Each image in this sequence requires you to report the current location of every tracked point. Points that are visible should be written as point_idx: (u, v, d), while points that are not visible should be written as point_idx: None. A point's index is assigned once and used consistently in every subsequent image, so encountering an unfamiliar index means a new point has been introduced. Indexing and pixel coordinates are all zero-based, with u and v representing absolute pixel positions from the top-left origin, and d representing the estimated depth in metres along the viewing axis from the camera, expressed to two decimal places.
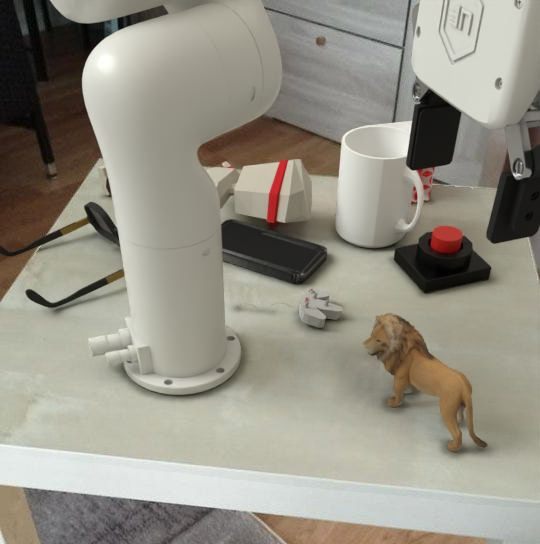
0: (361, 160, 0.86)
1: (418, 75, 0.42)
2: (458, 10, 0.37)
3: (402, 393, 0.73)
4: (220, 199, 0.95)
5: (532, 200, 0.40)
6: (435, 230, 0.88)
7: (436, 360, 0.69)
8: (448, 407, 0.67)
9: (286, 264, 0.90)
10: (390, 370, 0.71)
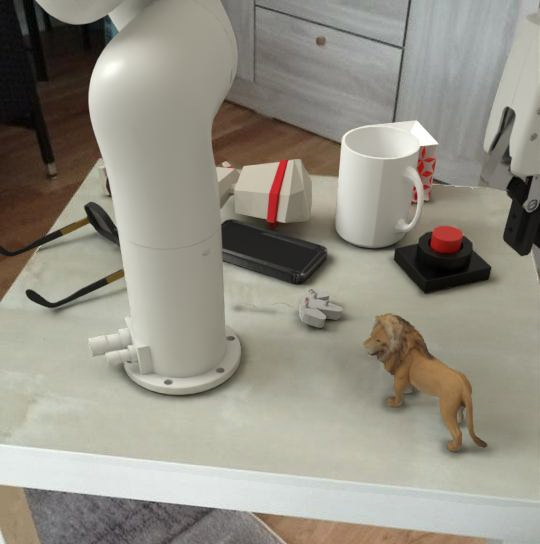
0: (361, 160, 0.86)
1: None
2: None
3: (402, 393, 0.73)
4: (220, 199, 0.95)
5: (513, 219, 0.60)
6: (435, 230, 0.88)
7: (436, 360, 0.69)
8: (448, 407, 0.67)
9: (286, 264, 0.90)
10: (390, 370, 0.71)
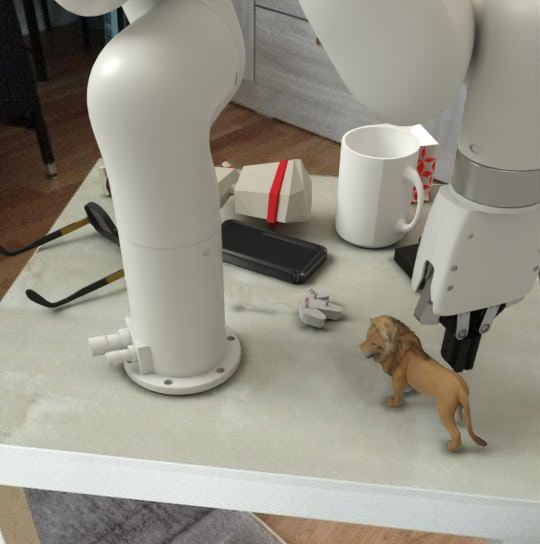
0: (361, 160, 0.86)
1: None
2: None
3: (401, 393, 0.72)
4: (220, 199, 0.95)
5: (447, 342, 0.68)
6: None
7: (432, 361, 0.69)
8: (445, 408, 0.67)
9: (286, 264, 0.90)
10: (388, 372, 0.71)
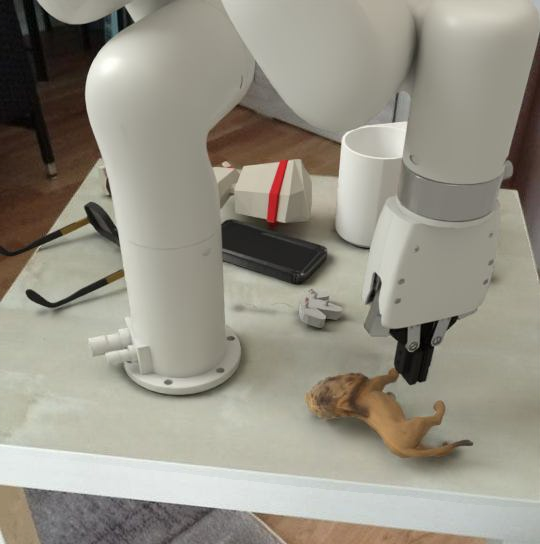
0: (361, 160, 0.86)
1: None
2: None
3: None
4: (220, 199, 0.95)
5: (399, 354, 0.67)
6: None
7: (372, 415, 0.67)
8: None
9: (286, 264, 0.90)
10: None
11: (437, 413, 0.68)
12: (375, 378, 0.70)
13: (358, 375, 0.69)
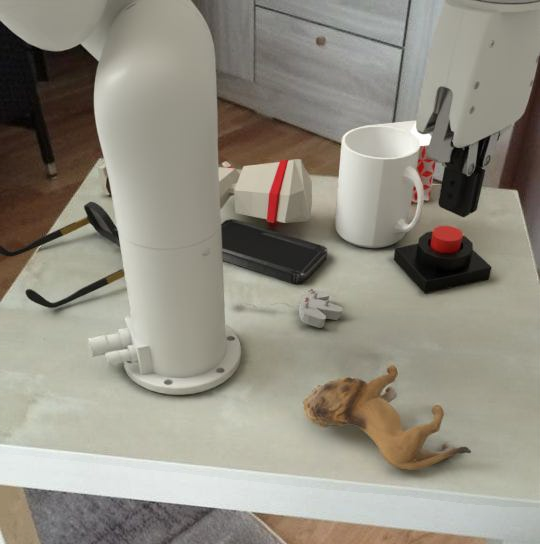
0: (361, 160, 0.86)
1: None
2: None
3: None
4: (220, 199, 0.95)
5: (451, 185, 0.65)
6: (435, 230, 0.88)
7: (368, 427, 0.67)
8: None
9: (286, 264, 0.90)
10: None
11: (435, 420, 0.67)
12: (372, 383, 0.69)
13: (354, 382, 0.68)
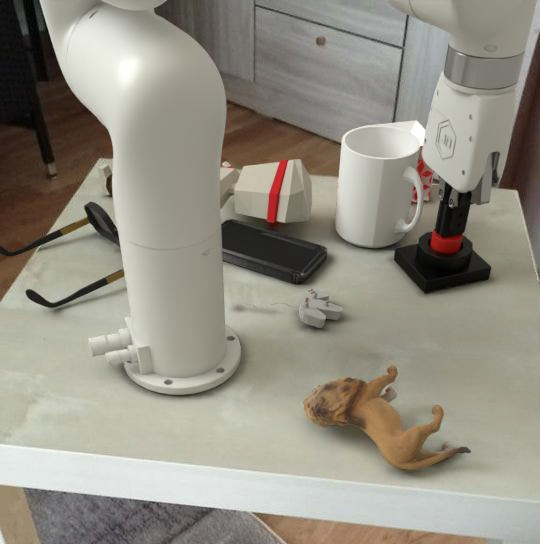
0: (361, 160, 0.86)
1: (425, 161, 0.84)
2: (444, 136, 0.79)
3: None
4: (220, 199, 0.95)
5: (459, 217, 0.85)
6: None
7: (368, 427, 0.67)
8: None
9: (286, 264, 0.90)
10: None
11: (435, 420, 0.67)
12: (372, 383, 0.69)
13: (354, 382, 0.68)
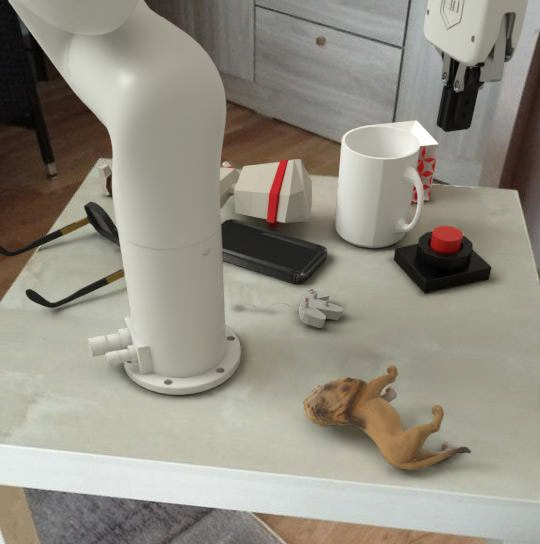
0: (361, 160, 0.86)
1: (427, 38, 0.72)
2: None
3: None
4: (220, 199, 0.95)
5: (465, 105, 0.74)
6: (435, 230, 0.88)
7: (368, 427, 0.67)
8: None
9: (286, 264, 0.90)
10: None
11: (435, 420, 0.67)
12: (372, 383, 0.69)
13: (354, 382, 0.68)
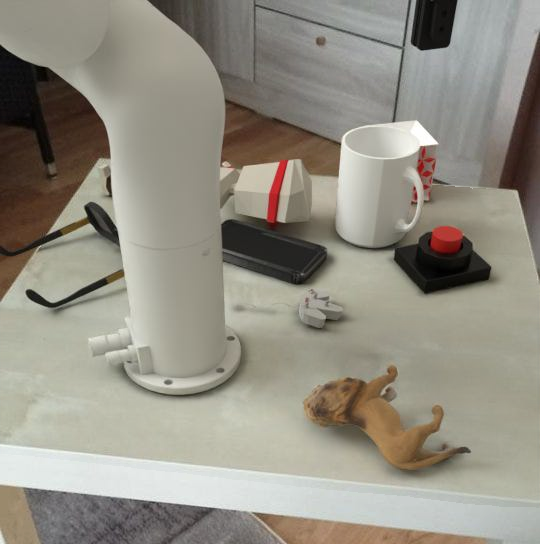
0: (361, 160, 0.86)
1: None
2: None
3: None
4: (220, 199, 0.95)
5: (442, 17, 0.64)
6: (435, 230, 0.88)
7: (368, 427, 0.67)
8: None
9: (286, 264, 0.90)
10: None
11: (435, 420, 0.67)
12: (372, 383, 0.69)
13: (354, 382, 0.68)
